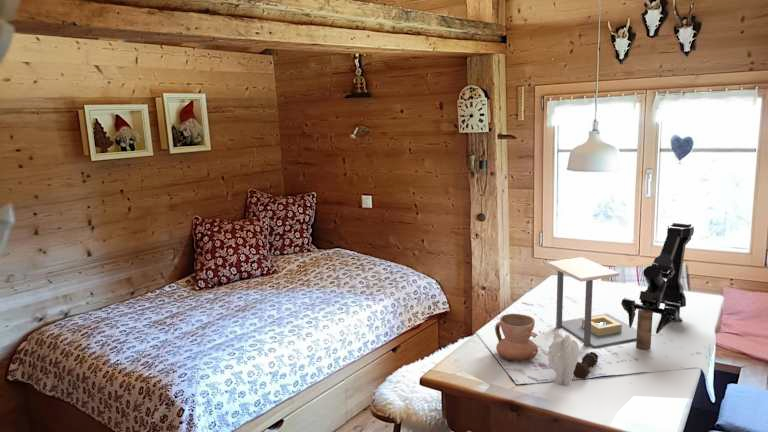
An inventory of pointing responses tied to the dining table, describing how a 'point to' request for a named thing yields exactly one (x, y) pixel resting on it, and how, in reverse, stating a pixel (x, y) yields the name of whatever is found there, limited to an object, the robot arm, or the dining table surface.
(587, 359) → the bolt
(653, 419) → the dining table surface
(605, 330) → the socket stand
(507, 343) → the ceramic jug
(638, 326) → the walnut peg
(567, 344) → the shell sculpture
